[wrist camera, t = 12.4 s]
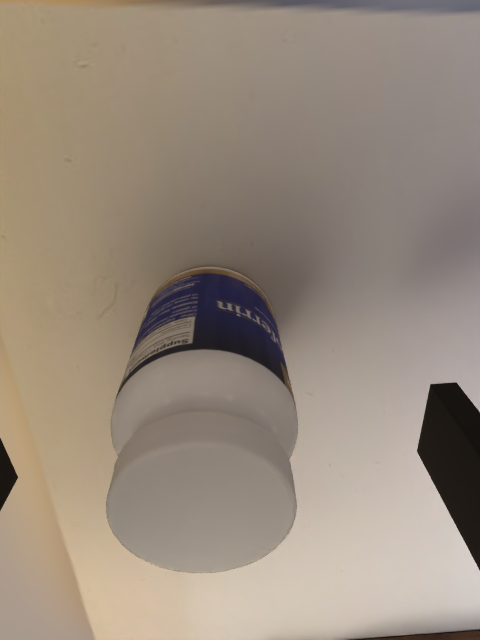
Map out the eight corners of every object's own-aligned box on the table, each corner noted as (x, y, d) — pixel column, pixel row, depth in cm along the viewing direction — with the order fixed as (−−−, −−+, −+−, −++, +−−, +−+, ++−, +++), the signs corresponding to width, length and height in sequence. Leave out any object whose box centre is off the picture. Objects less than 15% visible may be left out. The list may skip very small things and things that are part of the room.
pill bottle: (298, 330, 19) (361, 528, 11) (202, 392, 21) (189, 611, 12) (219, 234, 17) (220, 387, 8) (118, 312, 19) (28, 511, 10)
